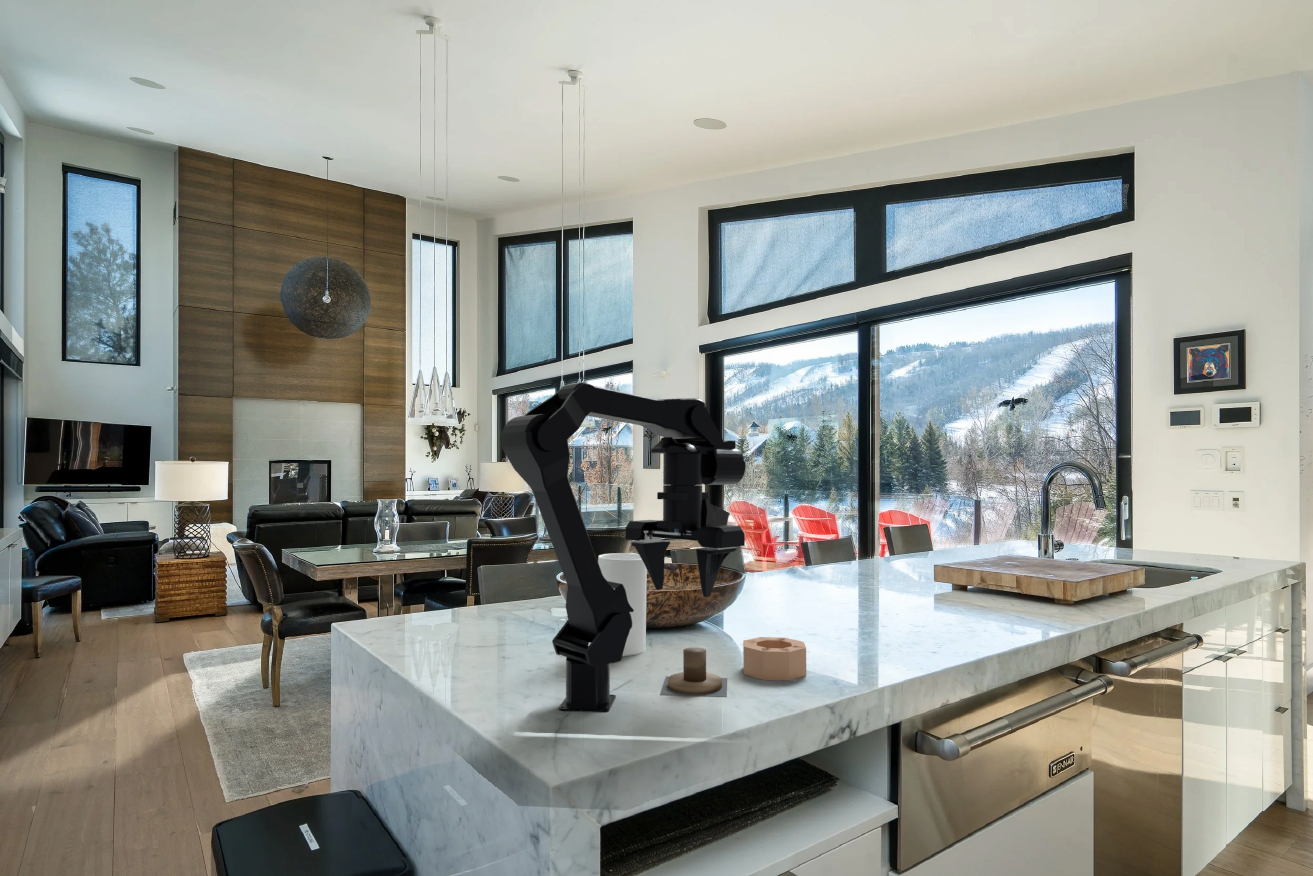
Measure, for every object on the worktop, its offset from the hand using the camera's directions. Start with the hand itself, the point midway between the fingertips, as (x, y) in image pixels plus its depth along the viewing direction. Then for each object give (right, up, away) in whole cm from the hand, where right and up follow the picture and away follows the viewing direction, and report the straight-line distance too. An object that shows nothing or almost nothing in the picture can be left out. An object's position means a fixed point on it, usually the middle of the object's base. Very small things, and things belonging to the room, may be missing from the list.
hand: (682, 593), depth 110 cm
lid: (+2, -12, -3) cm, 13 cm away
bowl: (+14, -13, +4) cm, 20 cm away
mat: (+2, -13, -3) cm, 13 cm away
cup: (-10, -14, +18) cm, 25 cm away
